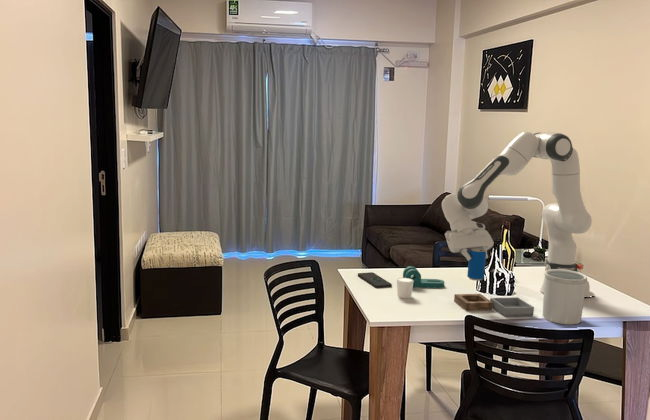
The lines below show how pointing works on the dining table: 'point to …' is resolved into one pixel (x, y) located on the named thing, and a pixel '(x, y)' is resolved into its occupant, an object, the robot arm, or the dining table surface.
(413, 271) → the bracket
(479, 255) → the beverage can
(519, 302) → the slate tray
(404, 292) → the shot glass
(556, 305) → the utensil holder
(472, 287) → the dining table surface
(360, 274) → the smart home device
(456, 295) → the walnut collar block
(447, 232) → the robot arm
